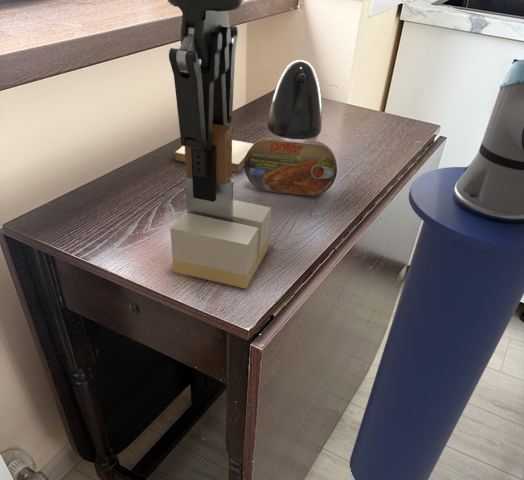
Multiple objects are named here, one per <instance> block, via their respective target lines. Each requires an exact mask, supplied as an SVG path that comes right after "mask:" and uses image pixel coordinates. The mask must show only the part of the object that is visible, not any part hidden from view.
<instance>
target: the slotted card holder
mask: <svg viewBox="0 0 524 480" xmlns="http://www.w3.org/2000/svg"><path fill="white" fill-rule="evenodd" d="M271 215H272V207H271V206H266V205H261V204H257V203H252V202H251V203H250V202H247V201H242V200H237V199H236V200H235V199H233V222H229V221H224V220H219V219H215V218H210V217H205V216H200V215H196V214H191V213H187V211H186V212H185V211H184V212H183V213H182V214H181V215H180V216H179V218H178V219H177V220H175V222H174V223H173V224H172V225H171V226H170V229H169V231H170V242H171V243H170V244H171V245H170V246H171V255H172V256H171V257H172V269H173V273H176V274H181V275H185V276H189V277H193V278H199V279H203V280H207V281H211V282H216V283H220V284H225V285H228V286H232V287H237V288H241V289H245V290H246V289H247V287H248V286H249V284H250V282H251V280H252V279H253V277H254V274H255V273H256V271H257V270H258V268H259V266H260V264H261V263H262V261H263V259H264V257H265V256H266V254H267V252H268V250H269V242H270V241H269V240H270V229H271V228H270V227H271V217H272V216H271Z"/></svg>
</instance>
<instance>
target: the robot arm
mask: <svg viewBox="0 0 524 480" xmlns="http://www.w3.org/2000/svg"><path fill="white" fill-rule="evenodd" d="M167 3H169V5H172V6H173V7H176V8H178V9H179V10H180V11H181V15H182V16H181V24H180V46H179V48H175V47H171V48H170V49H169V51H168V61H169V63H170V67H171V71H172V74H173V80H174V81H173V82H174V89H175V91H174V92H175V101H176V108H177V117H178V127H179V135H180V144H181V147H182V146H186V147H191V157H192V180H193V198H196V199H202V200H207V201H212V202H214V201H215V200H216V146H213V145H212V129H213V124H218V125H224V126H228V124H231V123H232V121H233V109H234V108H233V107H234V86H235V67H236V51H237V43H238V35H239V28H238V26H237V25H230V18H229V17H230V16H229V12H230V11H235V10H237V9H239V8H241V7H242V6H243V4H244V3H245V0H167ZM231 127H232V134H233V132H234V126H231ZM465 167H466V169H465V170H464V171H465V172H464V171H463V172H464V173H463V174H462V176H461V177H460V179H459V180H458V181H457V183H456V185H455V188H454V191H453V199H454V201H455V202H456V203H457V204H458V205H459V206H460V207H461V208H462V209H464V210H465V211H467V212H469V213H471V214H473V215H475V216H478V217H480V218H483V219H486V220H490V221H494V222H499V223H506V224H523V223H524V58H523V59H518V60H516V61H514V62H513V63H512V64H511V65H510V66H509V68H508V69H507V71H506V74H505V76H504V79H503V81H502V82H501V84H500V85H499V90H498V93H497V97H496V99H495V103H494V106H493V108H492V111H491V114H490V116H489V120H488V122H487V126H486V128H485V131H484V134H483V138H482V140H481V143H480V146H479V149H478V151H477V154H475V157H474V158H473V160H472V161H471V162H470V164H468V165H466V166H465Z"/></svg>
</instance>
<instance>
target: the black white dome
mask: <svg viewBox="0 0 524 480" xmlns="http://www.w3.org/2000/svg"><path fill="white" fill-rule="evenodd" d="M321 98H322V97H321V90H320V84H319V81H318V76H317V74H316V71H315V69H314V67H313V66H312V65H311V63H309V62H308V61H306V60H302V59H301V60H300V59H297V60H294V61H292V62H290V63H289V64H288V65H287V66H286V68H285V70H284V71H283V73H282V75H281V76H280V79H279V80H278V83H277V86H276V89H275V92H274V94H273V97H272V101H271V105H270V109H269V113H268V118H267V119H268V120H267V130H268V131H269V137H278V138H288V139H298V140H308V141H318V138H319V135H320V134H321V133H322V126H323V108H322V99H321Z"/></svg>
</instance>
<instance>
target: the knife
mask: <svg viewBox="0 0 524 480" xmlns="http://www.w3.org/2000/svg"><path fill="white" fill-rule="evenodd" d="M232 127H233V126H229V125H227V126H224V125H218V124H213V129H212V145H213V146H216V200H215V201H214V202H212V201H207V200H202V199H196V198H193V180H192V157H191V147H186V146H185V162H184V163H185V174H184V179H185V194H186V197H185V198H186V213H191V214H196V215H200V216H205V217H210V218H215V219H219V220H224V221H229V222H233V200H234V180H233V179H232V177H233V171H232V140H233V133H232ZM231 179H232V180H231Z"/></svg>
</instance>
